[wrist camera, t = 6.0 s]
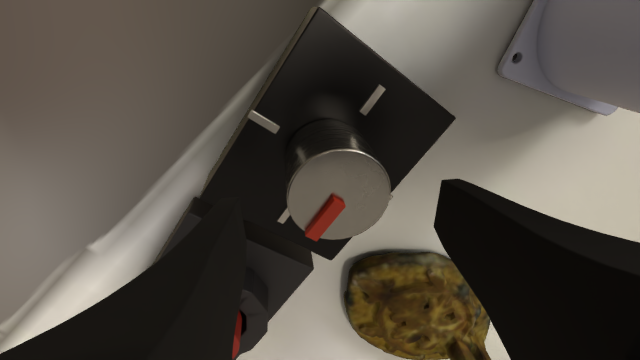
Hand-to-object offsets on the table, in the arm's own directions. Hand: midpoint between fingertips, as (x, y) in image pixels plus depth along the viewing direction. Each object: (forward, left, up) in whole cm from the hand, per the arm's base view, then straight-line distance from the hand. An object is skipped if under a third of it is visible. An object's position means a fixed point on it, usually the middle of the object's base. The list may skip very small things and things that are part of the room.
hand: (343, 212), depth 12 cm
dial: (0, 0, -4) cm, 4 cm away
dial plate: (0, 0, -7) cm, 7 cm away
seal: (+11, +11, -7) cm, 17 cm away
